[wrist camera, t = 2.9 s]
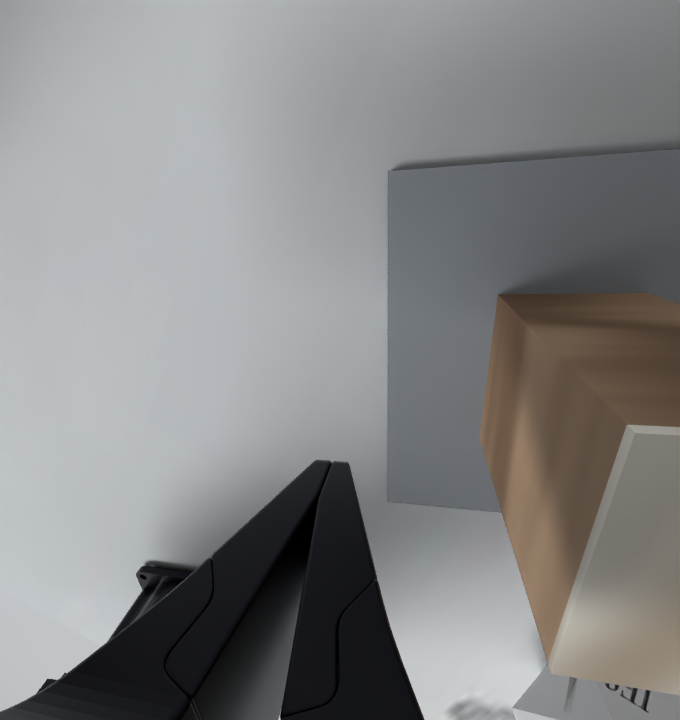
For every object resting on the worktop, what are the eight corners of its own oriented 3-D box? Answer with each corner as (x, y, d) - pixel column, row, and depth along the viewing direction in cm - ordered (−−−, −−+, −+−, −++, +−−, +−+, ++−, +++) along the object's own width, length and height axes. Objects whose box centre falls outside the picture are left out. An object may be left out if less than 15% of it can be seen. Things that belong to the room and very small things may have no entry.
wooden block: (479, 438, 14) (551, 673, 7) (497, 294, 12) (635, 432, 5) (601, 445, 14) (819, 718, 6) (647, 292, 11) (1087, 456, 4)
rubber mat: (387, 497, 17) (387, 501, 17) (388, 171, 11) (387, 171, 11) (817, 536, 14) (826, 543, 14) (1115, 116, 8) (1139, 113, 8)
